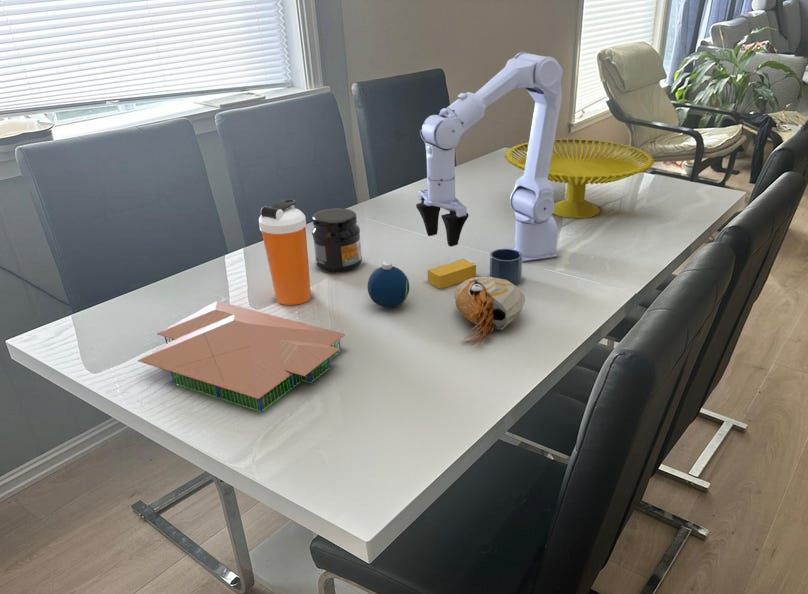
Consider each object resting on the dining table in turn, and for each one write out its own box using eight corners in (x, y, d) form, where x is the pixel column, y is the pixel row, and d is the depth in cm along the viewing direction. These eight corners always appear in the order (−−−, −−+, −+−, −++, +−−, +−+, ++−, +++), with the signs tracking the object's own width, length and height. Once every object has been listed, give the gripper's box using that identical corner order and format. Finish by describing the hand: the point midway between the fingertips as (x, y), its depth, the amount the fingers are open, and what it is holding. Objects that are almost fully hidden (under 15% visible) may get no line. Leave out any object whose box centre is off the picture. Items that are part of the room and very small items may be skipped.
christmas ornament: (399, 317, 136) (396, 271, 131) (361, 311, 139) (357, 264, 133) (417, 300, 143) (415, 255, 138) (380, 294, 145) (377, 249, 140)
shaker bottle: (323, 292, 146) (312, 200, 136) (300, 310, 139) (287, 214, 128) (287, 286, 148) (273, 195, 138) (262, 303, 141) (246, 208, 131)
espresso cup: (514, 272, 156) (514, 247, 153) (526, 284, 150) (527, 258, 147) (484, 276, 154) (485, 250, 151) (496, 288, 148) (496, 262, 145)
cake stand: (668, 203, 199) (676, 150, 191) (613, 247, 169) (619, 186, 162) (544, 180, 217) (547, 131, 209) (475, 216, 188) (475, 161, 180)
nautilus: (501, 360, 123) (425, 348, 128) (536, 304, 140) (468, 295, 145) (499, 322, 119) (420, 311, 124) (536, 268, 135) (465, 261, 140)
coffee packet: (463, 270, 156) (463, 258, 155) (476, 277, 153) (476, 264, 152) (427, 282, 151) (427, 269, 149) (440, 289, 148) (440, 276, 146)
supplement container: (372, 265, 159) (368, 214, 152) (334, 278, 152) (329, 226, 146) (343, 252, 165) (339, 204, 158) (306, 265, 158) (300, 215, 152)
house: (275, 420, 106) (267, 375, 102) (123, 370, 118) (110, 329, 114) (360, 353, 124) (356, 312, 120) (220, 316, 136) (212, 278, 132)
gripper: (405, 172, 144) (408, 234, 151) (446, 189, 135) (447, 254, 142) (432, 167, 148) (434, 227, 155) (474, 182, 138) (474, 246, 145)
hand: (442, 240), depth 149 cm, fingers open, 7 cm apart
